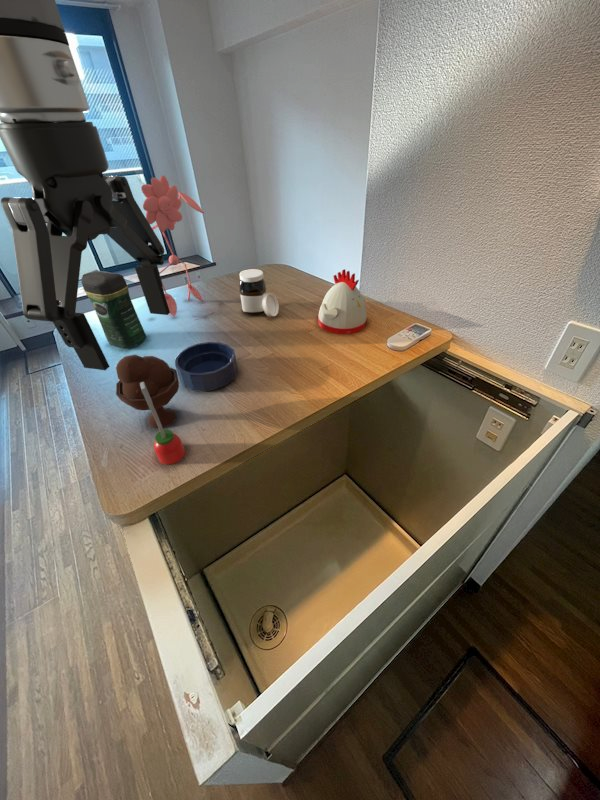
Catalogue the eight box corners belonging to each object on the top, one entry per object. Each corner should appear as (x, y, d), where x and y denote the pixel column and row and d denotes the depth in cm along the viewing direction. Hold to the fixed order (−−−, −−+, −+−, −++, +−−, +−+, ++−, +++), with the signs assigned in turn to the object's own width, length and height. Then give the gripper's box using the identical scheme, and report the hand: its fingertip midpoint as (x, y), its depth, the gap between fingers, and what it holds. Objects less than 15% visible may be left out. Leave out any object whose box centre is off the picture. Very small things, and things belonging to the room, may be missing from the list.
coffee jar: (152, 338, 90) (128, 269, 78) (130, 352, 85) (100, 281, 72) (126, 331, 93) (99, 264, 81) (103, 344, 88) (71, 275, 75)
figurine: (141, 321, 97) (90, 181, 74) (204, 291, 114) (178, 169, 91) (176, 334, 91) (132, 187, 68) (237, 301, 107) (218, 172, 84)
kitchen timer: (343, 339, 88) (348, 285, 78) (308, 321, 96) (308, 270, 86) (375, 322, 95) (383, 270, 85) (340, 307, 103) (344, 257, 93)
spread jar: (244, 304, 105) (239, 267, 98) (279, 303, 106) (277, 266, 98) (240, 321, 96) (235, 282, 89) (279, 320, 97) (276, 281, 89)
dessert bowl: (168, 382, 75) (162, 364, 71) (206, 354, 84) (202, 337, 80) (213, 399, 70) (209, 381, 67) (248, 367, 79) (246, 350, 75)
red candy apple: (160, 468, 56) (127, 399, 46) (156, 450, 60) (124, 381, 49) (187, 458, 58) (161, 389, 48) (182, 441, 61) (156, 372, 51)
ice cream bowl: (160, 446, 60) (131, 383, 50) (122, 424, 65) (89, 362, 55) (201, 412, 67) (183, 350, 57) (164, 394, 71) (141, 334, 62)
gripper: (-75, 119, 18) (91, 404, 32) (161, 116, 36) (201, 298, 50) (-175, 121, 19) (27, 394, 33) (102, 117, 38) (157, 294, 52)
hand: (132, 337), depth 42 cm, fingers open, 13 cm apart
